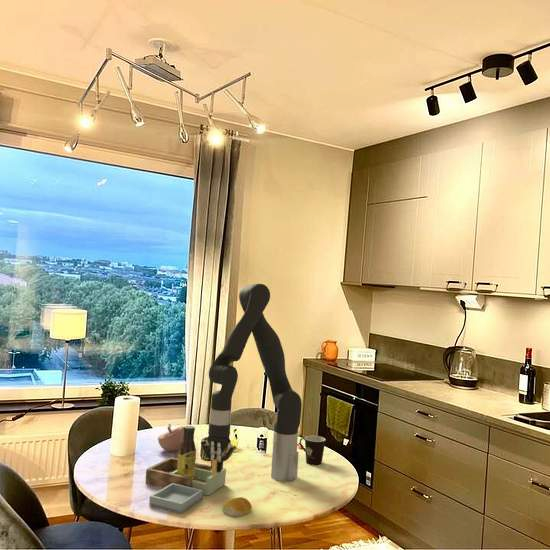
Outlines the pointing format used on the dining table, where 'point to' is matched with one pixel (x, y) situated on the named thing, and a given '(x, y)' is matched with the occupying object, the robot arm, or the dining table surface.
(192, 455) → the sauce bottle
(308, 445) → the coffee mug
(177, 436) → the pinkish brown apple
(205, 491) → the caddy
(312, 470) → the dining table surface
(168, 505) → the tray
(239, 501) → the bread roll
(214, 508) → the dining table surface
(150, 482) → the walnut bay
